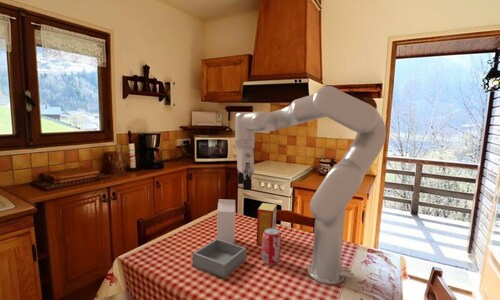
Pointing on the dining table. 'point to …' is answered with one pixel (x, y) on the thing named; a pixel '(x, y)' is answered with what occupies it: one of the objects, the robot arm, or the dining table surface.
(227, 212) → the milk carton
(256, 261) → the dining table surface
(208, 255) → the bin
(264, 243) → the soda can
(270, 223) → the baking soda box
